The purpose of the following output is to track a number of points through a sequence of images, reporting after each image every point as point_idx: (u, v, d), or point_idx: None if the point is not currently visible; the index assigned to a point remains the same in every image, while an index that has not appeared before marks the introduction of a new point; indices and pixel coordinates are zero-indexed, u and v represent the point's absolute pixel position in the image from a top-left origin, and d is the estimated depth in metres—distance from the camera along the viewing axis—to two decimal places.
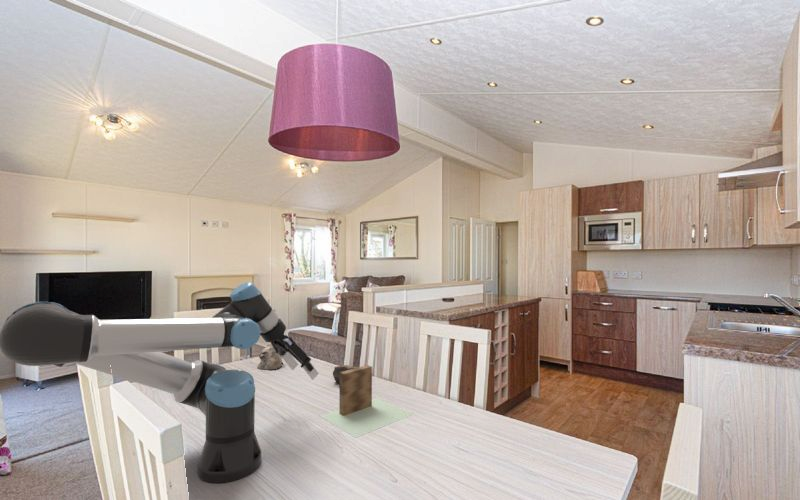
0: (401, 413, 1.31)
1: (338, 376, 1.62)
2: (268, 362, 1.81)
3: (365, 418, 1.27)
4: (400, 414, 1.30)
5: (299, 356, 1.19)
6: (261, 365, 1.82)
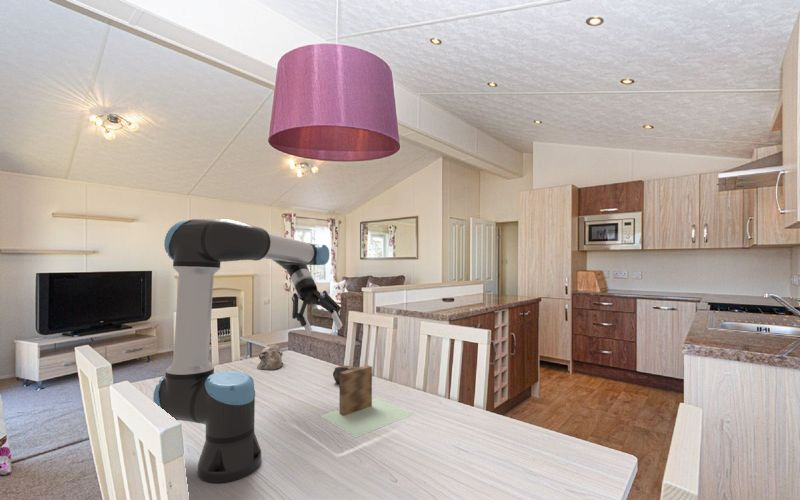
0: (401, 413, 1.31)
1: (338, 377, 1.61)
2: (268, 362, 1.81)
3: (365, 418, 1.27)
4: (400, 414, 1.30)
5: None
6: (261, 365, 1.82)
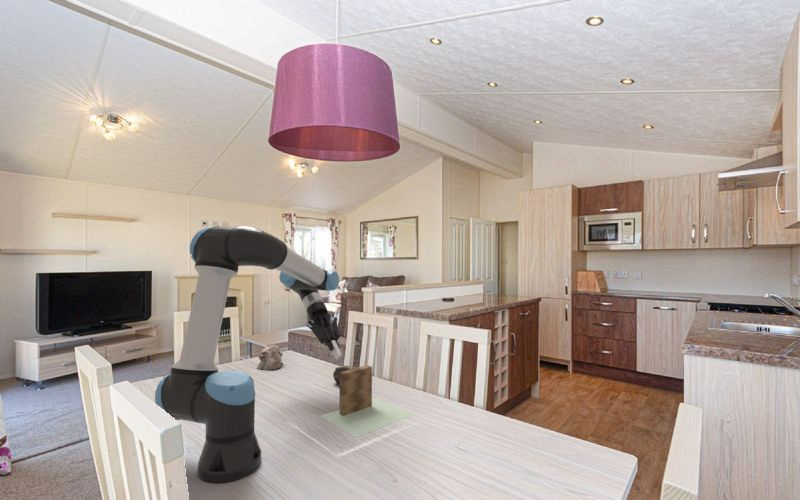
0: (401, 413, 1.31)
1: (339, 377, 1.60)
2: (267, 363, 1.80)
3: (365, 418, 1.27)
4: (400, 414, 1.30)
5: None
6: (261, 365, 1.81)
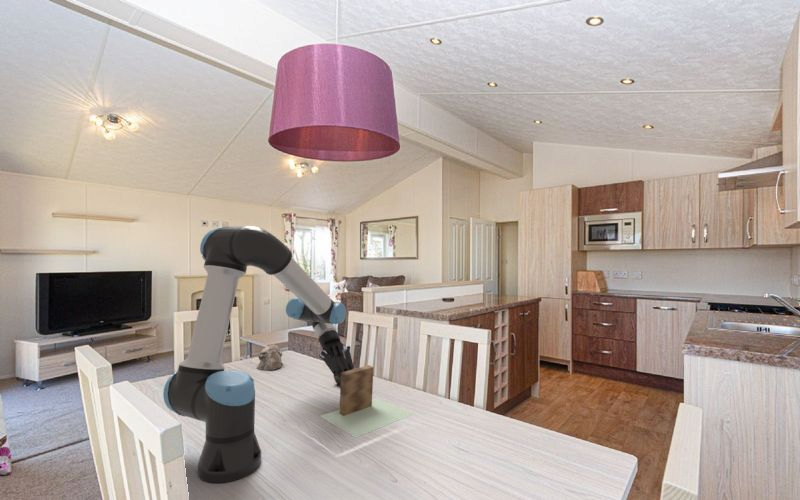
0: (401, 413, 1.31)
1: (340, 378, 1.60)
2: (267, 363, 1.80)
3: (365, 418, 1.27)
4: (400, 414, 1.30)
5: None
6: (260, 365, 1.81)
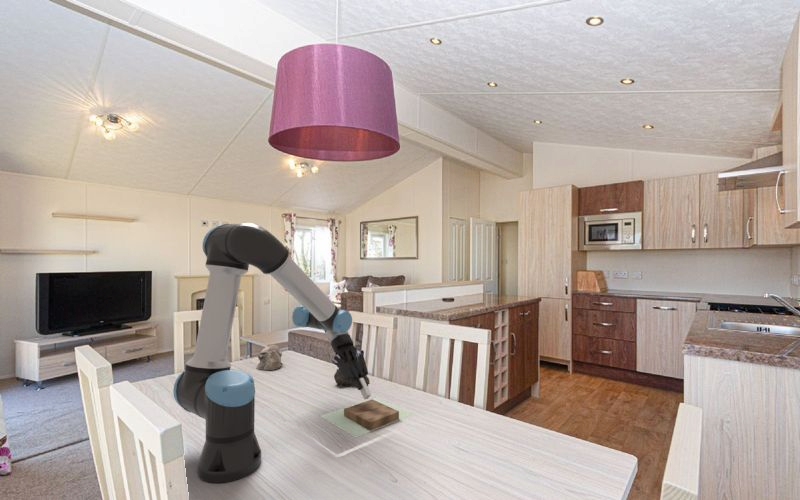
0: (401, 413, 1.31)
1: (340, 378, 1.59)
2: (267, 363, 1.80)
3: None
4: (400, 414, 1.30)
5: None
6: (260, 366, 1.81)
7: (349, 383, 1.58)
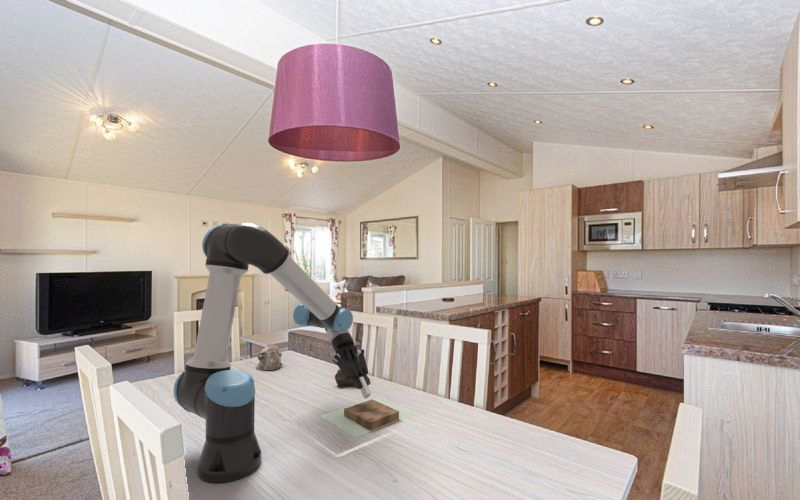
0: (401, 413, 1.31)
1: (341, 379, 1.58)
2: (267, 363, 1.80)
3: None
4: (400, 414, 1.30)
5: None
6: (260, 366, 1.80)
7: (350, 383, 1.58)
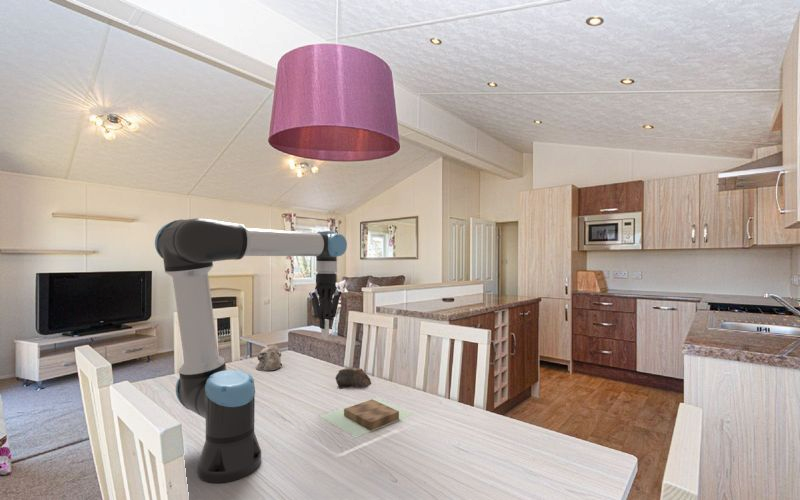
0: (401, 413, 1.31)
1: (342, 379, 1.57)
2: (266, 363, 1.79)
3: None
4: (400, 414, 1.30)
5: None
6: (260, 366, 1.80)
7: (351, 384, 1.57)
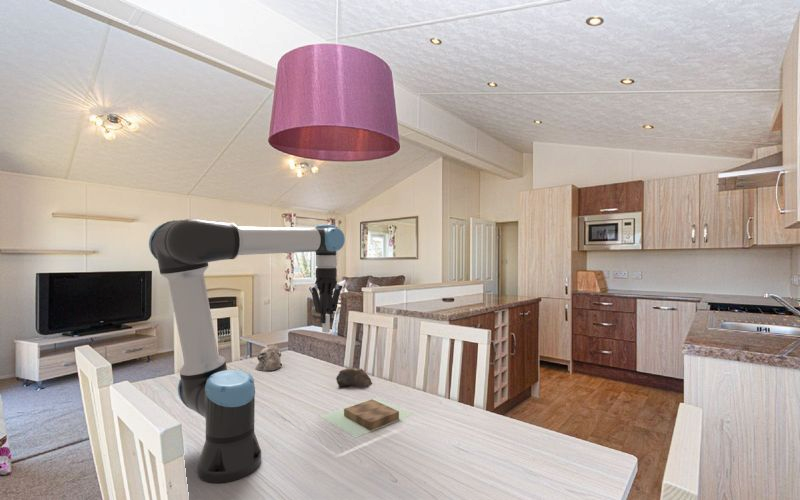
0: (401, 413, 1.31)
1: (343, 380, 1.57)
2: (266, 363, 1.79)
3: None
4: (400, 414, 1.30)
5: None
6: (259, 366, 1.80)
7: (352, 384, 1.57)
